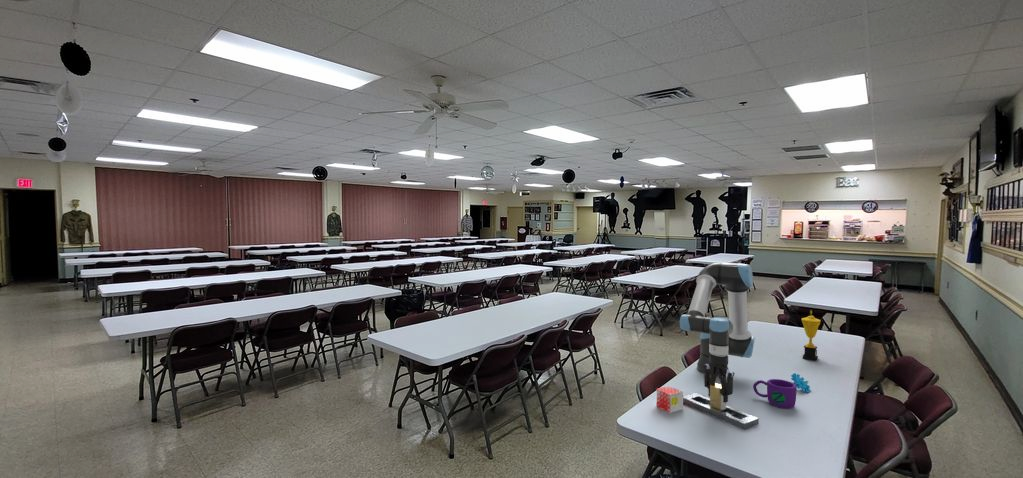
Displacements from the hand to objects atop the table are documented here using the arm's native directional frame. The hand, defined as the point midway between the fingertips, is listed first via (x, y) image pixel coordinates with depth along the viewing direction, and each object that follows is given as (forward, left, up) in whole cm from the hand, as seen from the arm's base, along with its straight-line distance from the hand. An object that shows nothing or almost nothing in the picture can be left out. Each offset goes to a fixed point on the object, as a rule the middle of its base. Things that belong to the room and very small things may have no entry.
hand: (717, 406), depth 184 cm
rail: (0, 0, -3) cm, 3 cm away
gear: (+4, +59, -3) cm, 59 cm away
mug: (+6, +32, -3) cm, 33 cm away
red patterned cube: (-14, -14, -3) cm, 20 cm away
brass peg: (0, 0, -1) cm, 1 cm away
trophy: (-20, +118, -3) cm, 120 cm away
